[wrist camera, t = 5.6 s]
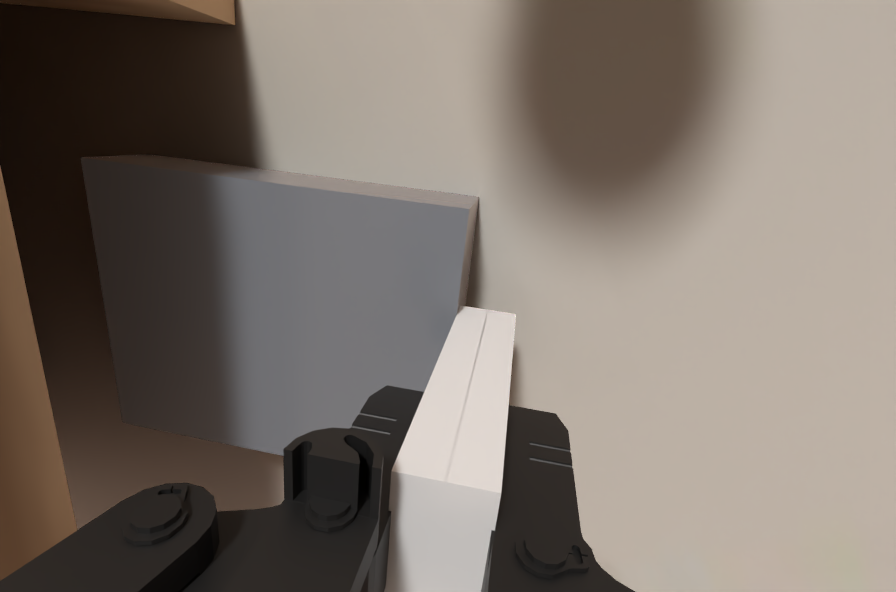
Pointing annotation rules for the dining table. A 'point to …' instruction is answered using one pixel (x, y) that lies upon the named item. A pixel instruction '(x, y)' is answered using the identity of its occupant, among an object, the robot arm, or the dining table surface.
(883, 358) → the dining table surface
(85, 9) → the oak shelf
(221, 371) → the slate board
